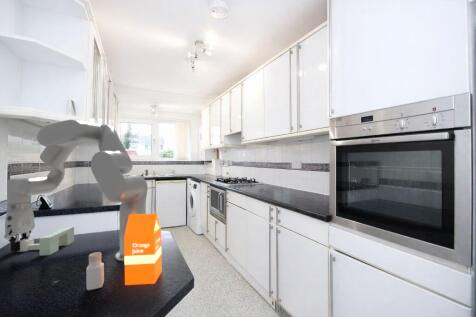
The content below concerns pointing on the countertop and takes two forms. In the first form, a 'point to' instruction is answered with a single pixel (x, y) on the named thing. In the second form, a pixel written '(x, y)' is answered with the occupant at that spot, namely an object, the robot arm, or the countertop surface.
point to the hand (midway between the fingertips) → (20, 248)
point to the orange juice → (142, 249)
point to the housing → (56, 240)
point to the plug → (28, 245)
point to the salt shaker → (95, 271)
